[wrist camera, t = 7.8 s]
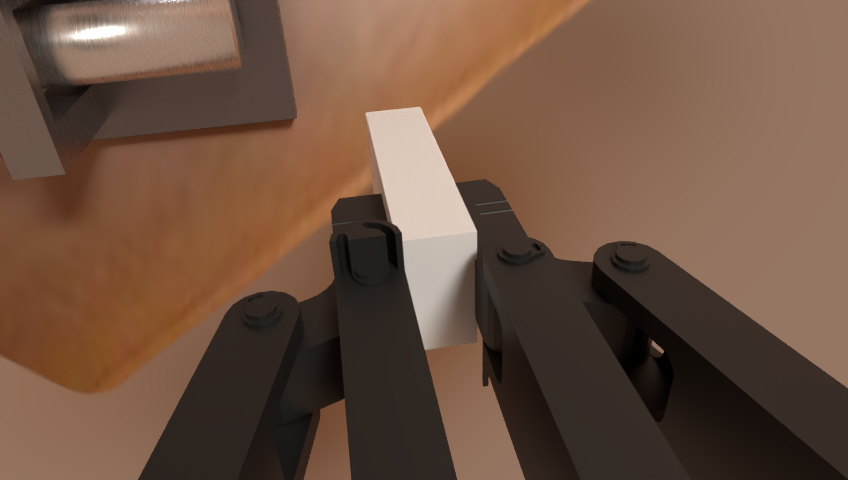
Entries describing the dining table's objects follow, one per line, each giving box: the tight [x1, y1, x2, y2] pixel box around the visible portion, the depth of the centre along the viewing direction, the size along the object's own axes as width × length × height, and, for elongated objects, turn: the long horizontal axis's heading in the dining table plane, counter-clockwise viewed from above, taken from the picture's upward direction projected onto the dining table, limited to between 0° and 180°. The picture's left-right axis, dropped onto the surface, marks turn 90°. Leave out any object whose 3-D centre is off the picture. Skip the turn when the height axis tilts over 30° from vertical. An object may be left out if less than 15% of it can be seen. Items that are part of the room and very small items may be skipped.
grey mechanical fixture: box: [0, 0, 297, 180], centre depth 31 cm, size 12×24×9 cm, turn 93°
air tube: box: [12, 0, 245, 89], centre depth 32 cm, size 20×4×4 cm, turn 93°
